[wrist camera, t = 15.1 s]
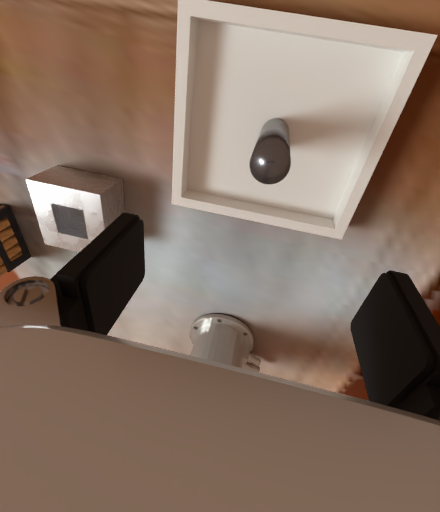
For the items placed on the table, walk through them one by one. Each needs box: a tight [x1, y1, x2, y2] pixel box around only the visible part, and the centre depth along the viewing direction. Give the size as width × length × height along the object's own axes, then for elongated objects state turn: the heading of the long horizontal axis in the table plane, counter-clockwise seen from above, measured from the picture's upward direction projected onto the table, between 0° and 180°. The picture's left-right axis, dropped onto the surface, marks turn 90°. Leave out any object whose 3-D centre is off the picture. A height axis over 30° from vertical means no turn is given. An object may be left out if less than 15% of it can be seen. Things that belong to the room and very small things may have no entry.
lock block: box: [26, 165, 125, 252], centre depth 40 cm, size 10×10×6 cm
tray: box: [172, 0, 438, 240], centre depth 30 cm, size 22×20×4 cm
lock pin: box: [249, 118, 291, 184], centre depth 26 cm, size 3×3×12 cm
